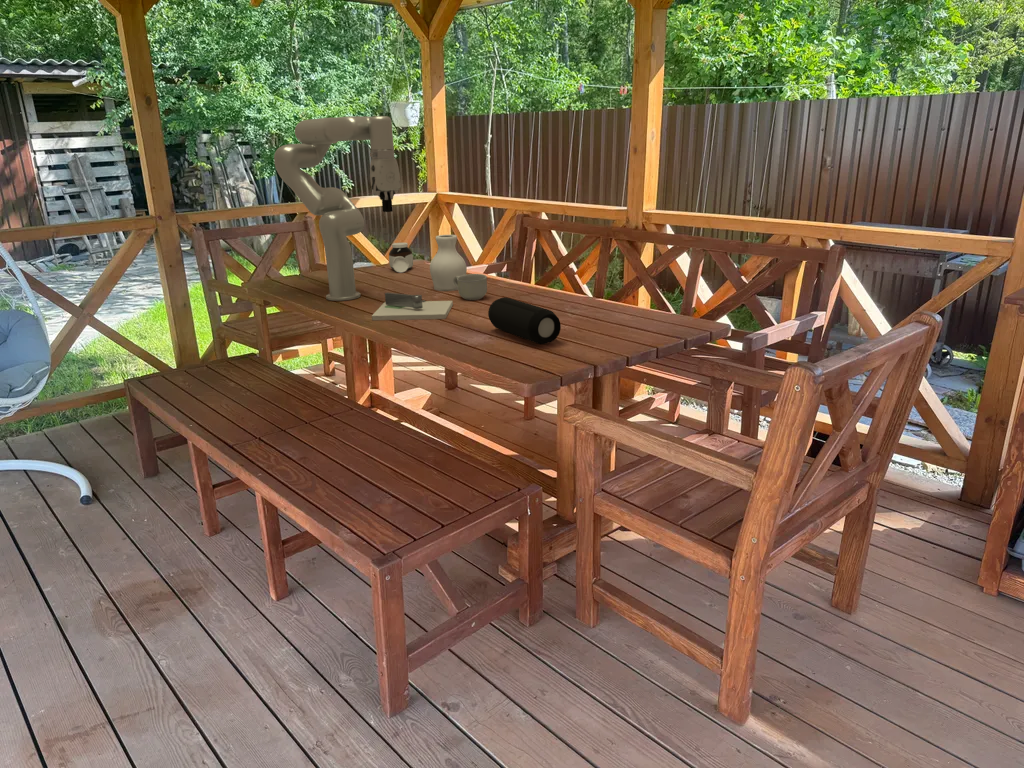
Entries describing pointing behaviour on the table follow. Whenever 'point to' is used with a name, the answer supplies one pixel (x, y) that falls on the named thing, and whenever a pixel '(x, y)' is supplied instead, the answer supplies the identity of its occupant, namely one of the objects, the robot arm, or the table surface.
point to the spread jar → (400, 257)
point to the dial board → (414, 311)
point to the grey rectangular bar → (404, 300)
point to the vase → (446, 264)
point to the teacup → (471, 286)
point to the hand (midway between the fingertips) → (387, 211)
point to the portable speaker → (524, 320)
